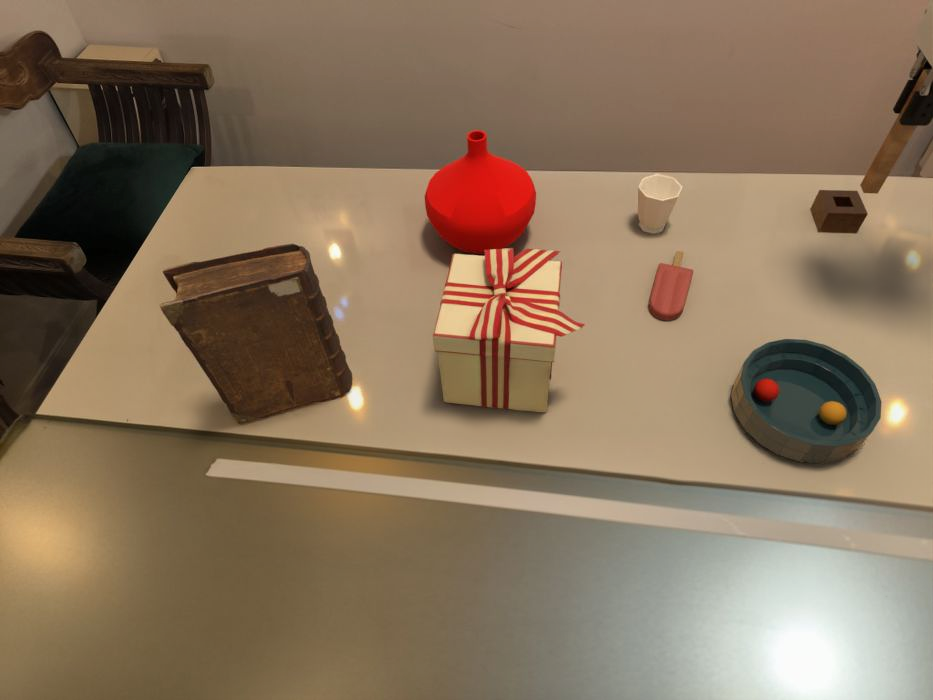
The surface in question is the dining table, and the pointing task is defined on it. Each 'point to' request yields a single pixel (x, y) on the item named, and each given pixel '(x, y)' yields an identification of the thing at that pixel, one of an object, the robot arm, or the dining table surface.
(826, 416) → the ochre ball
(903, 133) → the stick
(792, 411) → the bowl
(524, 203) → the vase
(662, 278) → the popsicle
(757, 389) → the red ball
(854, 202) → the holder
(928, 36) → the robot arm
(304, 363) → the book
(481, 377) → the gift box
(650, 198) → the cup
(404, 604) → the dining table surface
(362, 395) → the dining table surface
